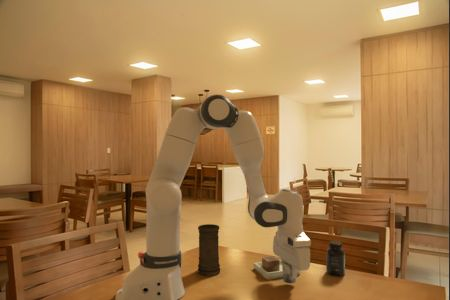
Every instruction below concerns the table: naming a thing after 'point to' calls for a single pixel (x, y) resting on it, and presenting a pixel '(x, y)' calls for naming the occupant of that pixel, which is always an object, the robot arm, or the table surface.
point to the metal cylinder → (287, 273)
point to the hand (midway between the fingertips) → (289, 274)
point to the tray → (270, 274)
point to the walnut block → (270, 264)
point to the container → (208, 250)
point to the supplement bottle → (335, 259)
